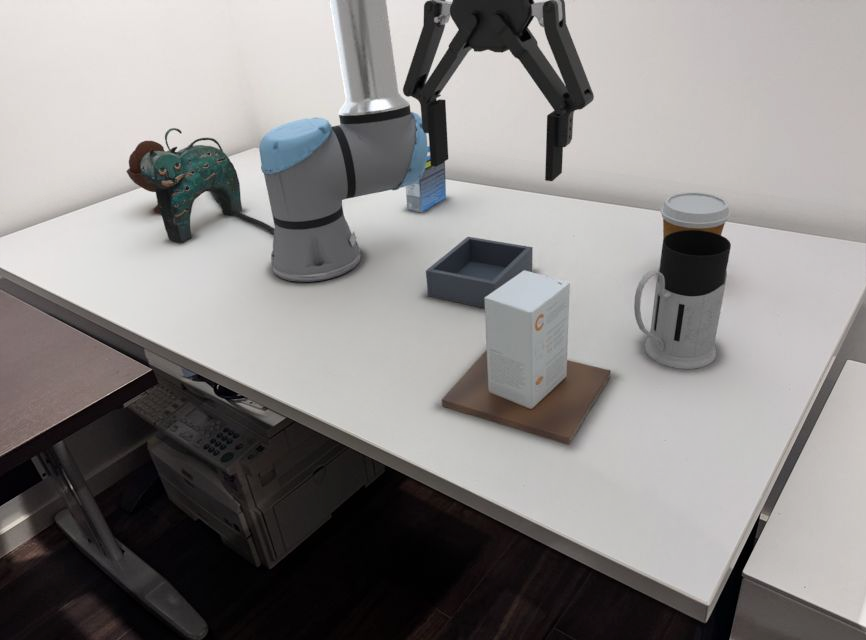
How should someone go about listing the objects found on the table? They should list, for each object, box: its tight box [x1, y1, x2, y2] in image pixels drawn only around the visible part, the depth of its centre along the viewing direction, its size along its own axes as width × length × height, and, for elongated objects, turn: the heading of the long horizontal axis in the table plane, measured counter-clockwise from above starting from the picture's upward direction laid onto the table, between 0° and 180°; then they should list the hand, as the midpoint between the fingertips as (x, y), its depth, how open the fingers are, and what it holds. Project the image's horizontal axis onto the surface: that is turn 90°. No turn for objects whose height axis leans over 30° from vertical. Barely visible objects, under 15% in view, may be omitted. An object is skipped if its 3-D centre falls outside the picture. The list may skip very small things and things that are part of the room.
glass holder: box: [633, 230, 732, 370], centre depth 81 cm, size 9×14×15 cm, turn 125°
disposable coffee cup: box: [660, 191, 731, 240], centre depth 100 cm, size 10×10×12 cm
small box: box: [484, 270, 571, 409], centre depth 77 cm, size 8×6×13 cm
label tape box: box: [405, 145, 447, 213], centre depth 133 cm, size 9×4×12 cm, turn 144°
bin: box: [425, 236, 534, 309], centre depth 105 cm, size 12×14×4 cm
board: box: [441, 349, 611, 445], centre depth 81 cm, size 16×14×1 cm
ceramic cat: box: [140, 127, 243, 244], centre depth 130 cm, size 20×6×20 cm, turn 150°
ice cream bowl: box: [126, 140, 165, 215], centre depth 141 cm, size 11×11×15 cm
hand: (494, 169), depth 72 cm, fingers open, 13 cm apart
